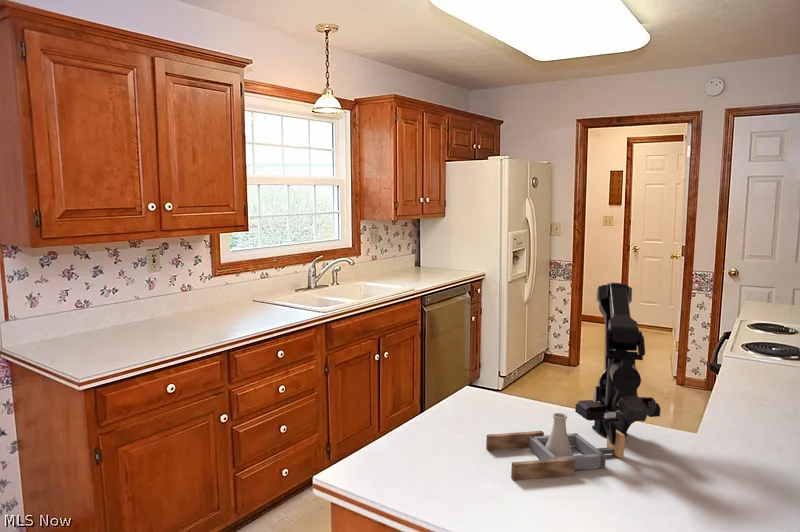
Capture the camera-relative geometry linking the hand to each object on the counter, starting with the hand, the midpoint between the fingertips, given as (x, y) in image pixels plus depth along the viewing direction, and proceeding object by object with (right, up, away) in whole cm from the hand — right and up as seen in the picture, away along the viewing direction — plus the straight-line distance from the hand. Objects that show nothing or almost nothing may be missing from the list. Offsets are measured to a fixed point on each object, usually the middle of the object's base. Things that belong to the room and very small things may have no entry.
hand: (615, 443), depth 135 cm
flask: (-14, -3, -2) cm, 14 cm away
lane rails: (-21, -3, -4) cm, 22 cm away
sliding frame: (-9, -2, -2) cm, 9 cm away
